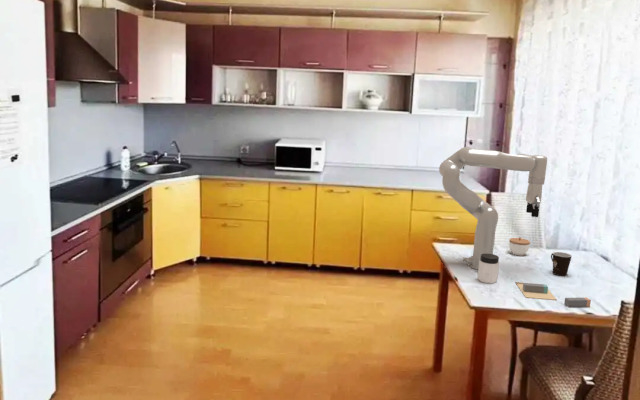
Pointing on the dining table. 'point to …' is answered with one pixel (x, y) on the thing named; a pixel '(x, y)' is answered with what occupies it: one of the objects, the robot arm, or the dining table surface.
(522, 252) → the lidded jar
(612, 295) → the dining table surface
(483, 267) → the jar
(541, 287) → the marker
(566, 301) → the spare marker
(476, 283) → the dining table surface
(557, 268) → the coffee mug
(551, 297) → the notepad
